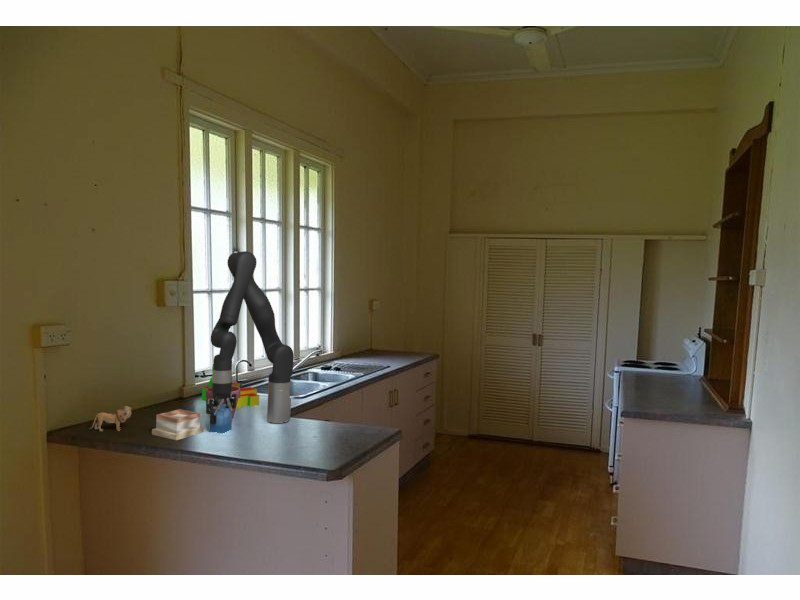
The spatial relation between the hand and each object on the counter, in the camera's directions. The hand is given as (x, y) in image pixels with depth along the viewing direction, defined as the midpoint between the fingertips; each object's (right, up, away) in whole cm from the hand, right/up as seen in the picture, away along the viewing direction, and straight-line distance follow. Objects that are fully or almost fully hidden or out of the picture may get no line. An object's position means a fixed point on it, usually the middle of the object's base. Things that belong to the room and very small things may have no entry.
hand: (220, 422), depth 215 cm
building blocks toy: (-10, -1, +48) cm, 49 cm away
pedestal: (-15, -3, -6) cm, 16 cm away
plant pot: (-5, -3, +18) cm, 19 cm away
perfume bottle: (0, -4, 0) cm, 4 cm away
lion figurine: (-41, -2, -5) cm, 41 cm away
